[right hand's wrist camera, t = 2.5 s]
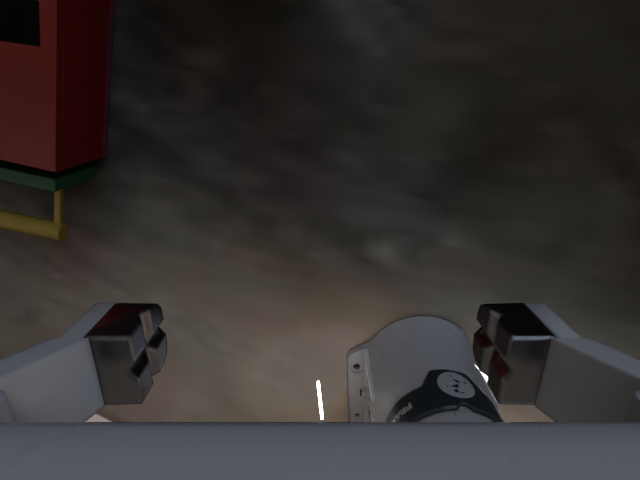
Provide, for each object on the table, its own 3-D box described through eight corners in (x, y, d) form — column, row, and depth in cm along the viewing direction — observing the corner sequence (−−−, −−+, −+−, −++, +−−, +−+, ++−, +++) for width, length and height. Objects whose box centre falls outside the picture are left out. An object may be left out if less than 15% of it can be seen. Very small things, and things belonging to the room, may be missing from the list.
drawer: (93, 227, 45) (54, 251, 39) (1, 207, 44) (-54, 228, 38) (102, 13, 38) (56, -3, 31) (-8, -16, 37) (-79, -39, 30)
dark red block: (106, 156, 43) (55, 172, 35) (-1, 131, 42) (-79, 142, 34) (116, -24, 37) (57, -57, 29) (-9, -58, 36) (-106, -101, 28)
